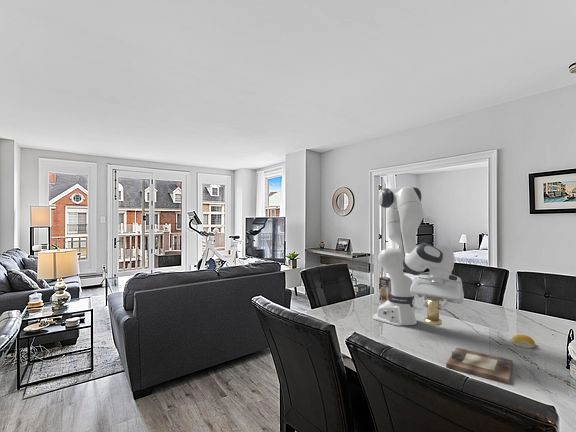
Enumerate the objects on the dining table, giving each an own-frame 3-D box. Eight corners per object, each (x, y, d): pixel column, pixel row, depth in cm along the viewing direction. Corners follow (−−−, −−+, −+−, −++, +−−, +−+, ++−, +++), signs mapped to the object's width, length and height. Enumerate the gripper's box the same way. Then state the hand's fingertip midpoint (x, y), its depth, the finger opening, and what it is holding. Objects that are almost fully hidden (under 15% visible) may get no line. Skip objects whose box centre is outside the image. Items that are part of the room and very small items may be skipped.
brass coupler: (422, 323, 127) (422, 300, 127) (427, 318, 132) (427, 297, 132) (439, 326, 123) (439, 303, 123) (443, 322, 128) (443, 300, 128)
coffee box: (378, 301, 207) (378, 277, 207) (387, 301, 209) (386, 276, 209) (387, 305, 198) (387, 279, 198) (396, 304, 201) (396, 279, 201)
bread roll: (534, 343, 138) (534, 334, 138) (535, 350, 131) (535, 341, 131) (511, 339, 143) (511, 330, 143) (511, 345, 136) (511, 336, 136)
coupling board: (446, 367, 116) (446, 358, 116) (456, 351, 130) (456, 343, 130) (508, 384, 104) (508, 374, 104) (512, 364, 118) (512, 355, 118)
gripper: (412, 272, 139) (405, 299, 132) (464, 278, 126) (459, 308, 119) (415, 280, 143) (408, 307, 135) (466, 287, 130) (461, 317, 122)
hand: (432, 307), depth 127 cm, fingers closed on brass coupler, 4 cm apart
